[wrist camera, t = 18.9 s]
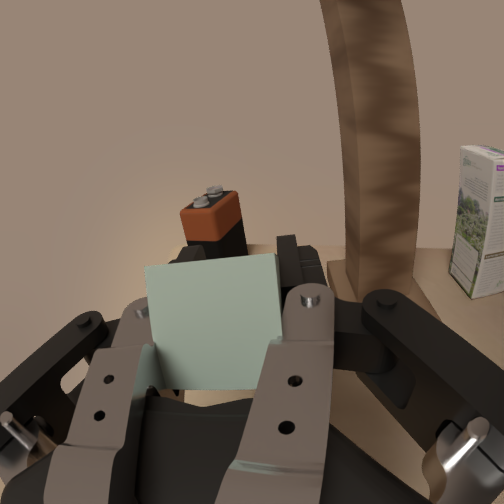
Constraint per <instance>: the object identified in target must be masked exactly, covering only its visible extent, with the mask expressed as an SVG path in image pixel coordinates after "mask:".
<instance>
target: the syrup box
mask: <svg viewBox="0 0 504 504" xmlns="http://www.w3.org/2000/svg"><path fill="white" fill-rule="evenodd" d="M449 273H450V274H451V275H452V276H453V278H454V279H455V280H456V281H457V282H458V283H459V285H460V286H461V287H462V288H463V289H464V291H465V292H466V293H467V295H468V296H469V297H470V298H471V299H475V298H481V297H485V296H489V295H492V294H496V293H499V292H502V291H504V151H502V150H500V149H496V148H494V147H489V146H482V145H470V146H461V148H460V182H459V197H458V209H457V219H456V227H455V236H454V243H453V249H452V255H451V260H450V266H449Z"/></svg>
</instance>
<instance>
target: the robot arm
mask: <svg viewBox="0 0 504 504" xmlns="http://www.w3.org/2000/svg"><path fill="white" fill-rule="evenodd" d="M277 256H278V257H279V269H280V288H281V297H282V305H283V314H282V336H277V339H271V340H270V342H269V344H268V348H267V352H266V355H265V359H264V363H263V366H262V370H261V374H260V377H259V381H258V384H257V388H256V391H255V395H254V398H247V399H241V400H236V401H232V402H227V403H222V404H218V405H213V406H207V407H199V406H195V405H191V404H187V403H184V395H185V390H181V389H167V387H166V383H165V380H164V376H163V372H162V369H161V365H160V361H159V357H158V353H157V349H156V345H155V341H153V337H152V330H151V323H150V316H149V308H148V299H147V297H144V298H140V299H138V300H135V301H133V302H132V303H130V304H129V305H128V306H127V307H126V308H125V310H124V311H123V314H122V317H121V318H120V319H116V320H112V321H108V322H105V321H104V319H103V317H102V315H101V314H100V313H99V312H97V311H89V312H85V313H83V314H81V315H79V316H77V317H76V318H75V319H73V320H72V321H71V322H70V323H68V324H67V325H66V326H65V327H64V328H62V329H61V330H60V331H59V332H58V333H56V334H55V335H54V336H53V337H52V338H50V339H49V340H48V341H47V342H46V343H44V344H43V345H42V346H41V347H40V348H39V349H37V350H36V351H35V352H34V353H33V354H32V355H30V356H29V357H28V358H27V359H26V360H25V361H24V362H23V363H21V364H20V365H19V366H18V367H17V368H16V369H15V370H13V371H12V372H11V373H10V374H9V375H8V376H7V377H6V378H5V379H4V380H2V381H1V382H0V477H1V479H2V481H3V482H4V484H5V488H4V490H3V493H2V496H1V503H0V504H491V503H492V502H493V501H494V500H495V499H496V498H497V496H498V495H499V494H500V493H501V492H502V491H503V489H504V371H503V370H502V369H501V368H500V367H499V366H497V365H496V364H495V363H494V362H492V361H491V360H490V359H489V358H487V357H486V356H485V355H484V354H482V353H481V352H480V351H479V350H477V349H476V348H475V347H474V346H472V345H471V344H470V343H468V342H467V341H466V340H464V339H463V338H462V337H461V336H459V335H458V334H457V333H455V332H454V331H453V330H451V329H450V328H449V327H447V326H446V325H445V324H443V323H442V322H441V321H439V320H438V319H437V318H435V317H434V316H433V315H431V314H430V313H428V312H427V311H426V310H424V309H423V308H422V307H420V306H419V305H417V304H416V303H415V302H413V301H412V300H411V299H409V298H408V297H406V296H405V295H404V294H402V293H400V292H398V291H395V290H391V289H378V290H374V291H371V292H370V293H368V294H367V295H366V296H365V297H364V298H363V301H362V303H359V302H349V301H344V300H341V299H339V298H337V297H335V296H334V293H333V291H332V290H331V289H330V288H329V287H328V286H327V283H326V279H325V276H324V272H323V269H322V266H321V262H320V260H319V256H318V252H317V250H315V249H314V248H313V247H311V246H310V245H307V246H298V247H297V243H296V237H295V235H285V236H277ZM201 260H206V256H205V252H204V249H203V246H202V245H195V246H187V247H183V248H182V250H181V251H180V253H179V255H178V257H177V259H175V260H172V261H170V262H169V263H168V264H173V263H182V262H192V261H201ZM83 357H84V359H85V360H86V362H87V363H88V365H89V369H88V372H87V375H86V378H85V379H83V380H82V381H81V382H80V383H79V384H78V385H77V386H76V387H75V388H74V389H73V390H72V391H71V392H70V393H68V394H65V393H64V391H63V390H62V389H61V385H60V382H61V378H62V377H63V376H64V375H65V374H66V373H67V372H68V371H69V370H70V369H71V368H72V367H74V366H75V365H76V364H77V363H78V362H79V361H80V360H81V359H82V358H83ZM333 369H341V370H349V371H355V372H356V375H357V376H358V378H359V379H360V380H361V381H362V382H363V383H364V384H365V385H366V387H367V388H368V389H369V390H370V391H371V392H372V393H373V394H374V395H375V397H376V398H377V399H378V400H379V401H380V402H381V403H382V404H383V406H384V407H385V408H386V409H387V410H388V411H389V412H390V413H391V414H392V416H393V417H394V418H395V419H396V420H397V421H398V422H399V423H400V424H401V426H402V427H403V428H404V429H405V430H406V431H407V432H408V433H409V434H410V436H411V437H412V438H413V439H414V440H415V441H416V442H417V443H418V444H419V446H420V447H421V448H422V449H423V450H424V451H425V452H426V454H425V456H424V458H423V461H422V473H423V475H424V477H425V479H426V481H427V482H428V485H429V489H430V496H429V500H428V499H426V498H425V497H423V496H422V495H421V494H419V493H418V492H416V491H415V490H414V489H412V488H411V487H409V486H408V485H407V484H405V483H404V482H403V481H401V480H400V479H399V478H397V477H396V476H395V475H393V474H392V473H391V472H389V471H388V470H387V469H385V468H384V467H383V466H382V465H380V464H379V463H378V462H376V461H375V460H374V459H373V458H371V457H370V456H369V455H368V454H366V453H365V452H364V451H363V450H362V449H360V448H359V447H358V446H357V445H355V444H354V443H353V442H352V441H351V440H349V439H348V438H347V437H346V436H345V435H344V434H342V433H341V432H340V431H339V430H338V429H336V428H335V427H334V426H333V425H332V424H330V423H329V418H330V406H331V392H332V376H333ZM34 416H36V417H34Z"/></svg>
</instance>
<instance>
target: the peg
mask: <svg viewBox="0 0 504 504" xmlns="http://www.w3.org/2000/svg"><path fill="white" fill-rule="evenodd" d="M144 270H145V280H146V290H147V299H148V308H149V316H150V323H151V330H152V337H153V341H155V345H156V349H157V353H158V357H159V361H160V365H161V369H162V372H163V376H164V380H165V383H166V387H167V389H181V390H247V389H256V388H257V384H258V381H259V377H260V374H261V370H262V366H263V363H264V359H265V355H266V352H267V348H268V344H269V342H270V340H271V339H277V336H282V314H283V305H282V297H281V288H280V269H279V257H278V256H277V255H276V254H275V253H268V254H259V255H249V256H240V257H230V258H221V259H211V260H201V261H192V262H182V263H173V264H163V265H153V266H144Z"/></svg>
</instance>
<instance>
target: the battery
mask: <svg viewBox="0 0 504 504" xmlns="http://www.w3.org/2000/svg"><path fill="white" fill-rule="evenodd" d="M222 190H223V188H222V185H219V186H212V187H209V188H207V193H206V194H204V195H203V196H201V197H198V198H195V199H194V200H193V201H194V202H193V203H191V204H189V205H188V206H187V207H185V208H184V209H182V210H181V211H180V217H181V221H182V225H183V229H184V233H185V236H186V241H187V244H188V246H195V245H202V246H203V249H204V252H205V256H206V260H211V259H221V258H230V257H240V256H248V250H247V244H246V238H245V233H244V227H243V221H242V215H241V209H240V203H239V197H238V193H237V192H236V191H222Z"/></svg>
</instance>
